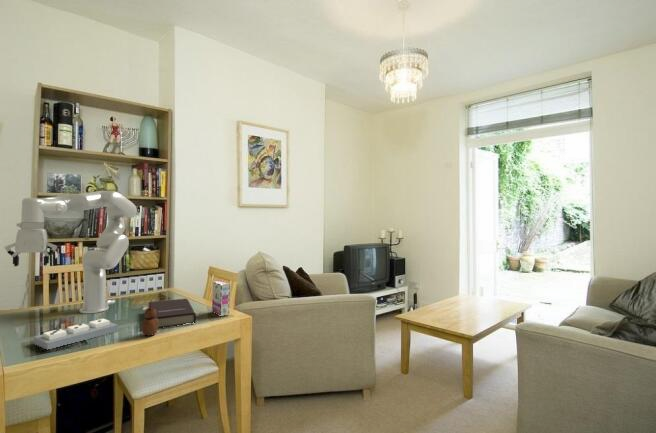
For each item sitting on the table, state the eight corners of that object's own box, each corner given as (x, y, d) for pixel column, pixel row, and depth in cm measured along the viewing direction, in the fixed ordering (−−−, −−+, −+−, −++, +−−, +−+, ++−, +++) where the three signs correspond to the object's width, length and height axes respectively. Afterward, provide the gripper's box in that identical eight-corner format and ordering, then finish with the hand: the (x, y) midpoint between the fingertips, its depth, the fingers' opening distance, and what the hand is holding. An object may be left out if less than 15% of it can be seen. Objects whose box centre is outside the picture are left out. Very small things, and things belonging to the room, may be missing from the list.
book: (196, 324, 158) (196, 312, 158) (150, 330, 149) (150, 317, 149) (188, 309, 183) (188, 298, 183) (148, 313, 173) (148, 302, 173)
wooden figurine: (146, 332, 146) (147, 298, 146) (160, 332, 147) (161, 298, 146) (139, 338, 139) (140, 302, 139) (153, 337, 140) (154, 302, 140)
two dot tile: (82, 330, 142) (82, 322, 142) (89, 333, 139) (89, 325, 139) (67, 334, 137) (67, 326, 137) (73, 337, 134) (73, 329, 134)
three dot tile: (60, 336, 135) (60, 328, 135) (66, 339, 132) (66, 330, 132) (43, 340, 130) (43, 332, 130) (49, 343, 127) (49, 335, 127)
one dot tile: (103, 325, 149) (103, 317, 149) (109, 327, 146) (109, 320, 146) (89, 328, 144) (89, 321, 144) (95, 331, 141) (95, 323, 141)
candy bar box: (229, 315, 172) (230, 284, 172) (220, 317, 169) (220, 285, 168) (220, 310, 180) (221, 280, 180) (211, 312, 177) (212, 281, 177)
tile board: (103, 326, 152) (103, 319, 152) (117, 331, 146) (117, 324, 146) (34, 344, 130) (34, 336, 130) (47, 351, 124) (47, 343, 124)
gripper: (2, 226, 138) (1, 267, 138) (55, 227, 146) (54, 265, 146) (9, 225, 144) (7, 265, 144) (59, 226, 153) (58, 263, 153)
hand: (31, 265), depth 145 cm, fingers open, 9 cm apart
